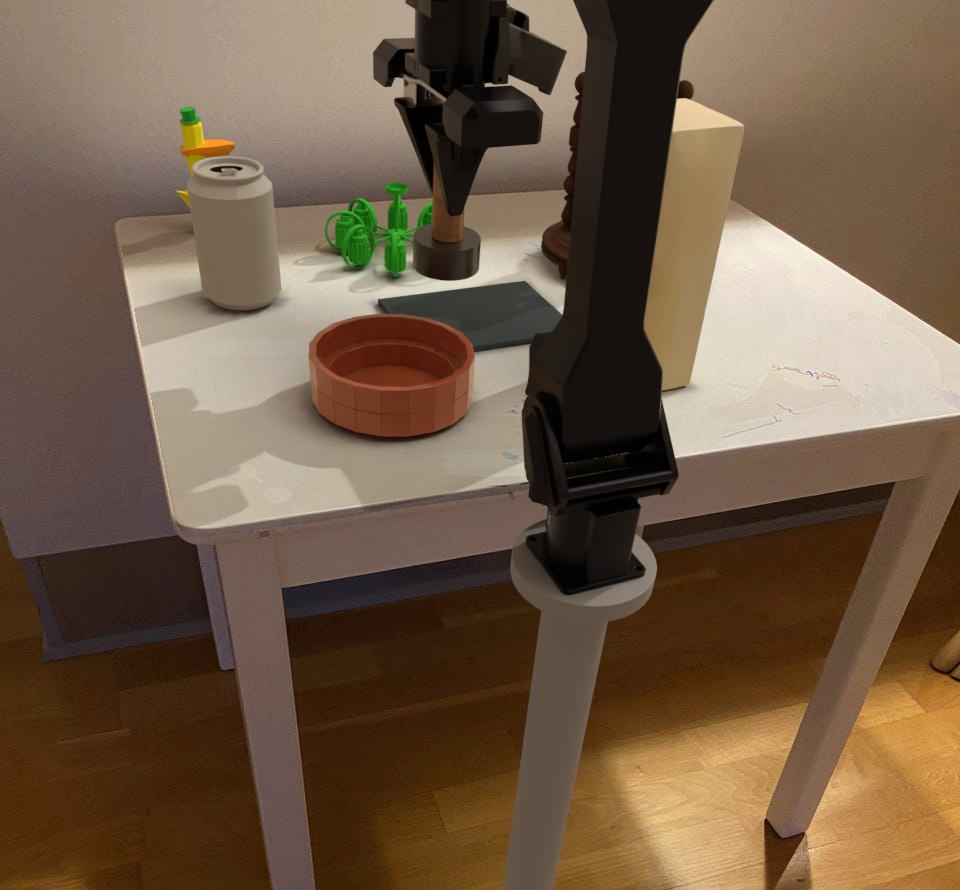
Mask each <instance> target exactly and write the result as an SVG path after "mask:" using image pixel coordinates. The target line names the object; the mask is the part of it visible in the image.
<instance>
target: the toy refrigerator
mask: <svg viewBox="0 0 960 890" xmlns="http://www.w3.org/2000/svg"><path fill="white" fill-rule="evenodd" d="M744 135H745V126H744V124H743V123H742V122H740V121H738V120H736V119H734V118H732V117H730V116H728V115H726V114H723V113H721V112H719V111H716V110H715V109H712V108H709V107H707V106H705V105H703V104H701V103H699V102H697V101H694V100H692V99H691V100H690V99H686V98H680V99H677V102H676V109H675V116H674V123H673V130H672V137H671V143H670V150H669V157H668V164H667V171H666V178H665V185H664V192H663V198H662V205H661V212H660V219H659V226H658V233H657V240H656V247H655V254H654V260H653V267H652V274H651V281H650V288H649V295H648V302H647V309H646V315H645V327H644V328H645V332H646V334H647V336H648V338H649V341H650V343H651V345H652V347H653V349H654V351H655V354H656V356H657V358H658V360H659V362H660V365H661V367H662V369H663V383H662V392H663V391H667V390H672V389H673V390H674V389H677V388H682V387H685V386H689V384H690V383H691V379H692V375H693V370H694V366H695V361H696V356H697V353H698V347H699V343H700V339H701V335H702V329H703V325H704V319H705V314H706V310H707V305H708V301H709V297H710V293H711V292H710V291H711V288H712V283H713V278H714V273H715V269H716V264H717V260H718V254H719V249H720V245H721V242H722V241H721V240H722V237H723V231H724V227H725V222H726V218H727V214H728V209H729V204H730V201H731V195H732V190H733V185H734V182H735V176H736V171H737V168H738V164H739V159H740V154H741V149H742V144H743V141H744Z"/></svg>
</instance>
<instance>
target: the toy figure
mask: <svg viewBox="0 0 960 890" xmlns="http://www.w3.org/2000/svg"><path fill="white" fill-rule="evenodd" d="M179 113H180V115H181V118H180V119H179V123H180V129H181V135H182V143H183V145H182V146H180V147H179V150H180V155H182V156H183V157H185V159H186V163H187V166H188V170H189V174H190V178H191V177H192V176H193V175H194V173H193V172H192V166H193V165H194V164H195V163H196V162H198V161H200V160H202V159H207V158H211V157H220V156H230V154H231V153H232V151H233V150H235V147H236V144H235V142H233V141H230V140H227V139H216V138H215V139H204V130H203V123H202V122H201V120H202V118H201V117H200V116H197V111H196V107H194V106H184V107H181V108H180V109H179ZM175 192H176V194H177V195H178V196H179V197H180V199H182V200H183V202H184V203H185V204H186V206H187V207H188V208H189V209H190V205H189V198H188V191H187V189H186V190H175Z"/></svg>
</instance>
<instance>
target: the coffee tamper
mask: <svg viewBox="0 0 960 890" xmlns="http://www.w3.org/2000/svg"><path fill="white" fill-rule="evenodd" d="M432 202H433V203H432V224H429V225H425V226H422V225H421V227H420V228H418V229H417V230H414V231H413V234H414V235H413V237H412V240H413V243H412V244H413V245H412V267H413V269H414V270H415V271H416V272H417V273H418V274H420V275H421V276H423V277H425V278H429V279H431V280H435V281H442V282H443V281H444V282H456V281H463V280H467V279H470V278H472V277H474V276H476V275H477V273H478V272H479V270H480V259H481V244H482V243H481V242H482V238H481V234H479V233H478V232H477V231H475V230H474V229H473V228H470V227H469V226H468V227H467V226H465V224H464V223H465V207H466V206H465V207H464V210H463V212H462V214H461V215H458V216H450V215H449V214H448V212H447V209H446V206H445V202H444V199H443V195H442V191H441V188H440V184H439V180H438V176H437V172H436V168H435V164H434V170H433V197H432Z"/></svg>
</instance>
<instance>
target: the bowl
mask: <svg viewBox="0 0 960 890" xmlns="http://www.w3.org/2000/svg"><path fill="white" fill-rule="evenodd" d="M475 362H476V354H475V351H474V349H473V345H472V343H471V342H470V341H469V340H468V339H467V338H466V337H465V336H464V334H462V333H461V332H459V331H457V330H456V329H454V328H452V327H450V326H448V325H447V324H444V323H441V322H438V321H435V320H431V319H428V318H424V317H418V316H411V315H405V314H386V313H373V314H363V315H358V316H352V317H349V318H345V319H342V320H339V321H336V322H333V323H331V324H330V325H328V326H326V327H324V328H323V329H320V330H319V331H318V332H317V333H316V334H315V335H314V337H313V338H312V339H311V340H310V342H309V343H308V369H309V382H310V394H311V395H310V396H311V402H312V403H313V405H314V406H315V408H316V410H317V411H318V413H319V415H321V416H322V417H324V418H325V419H327V420H328V421H329V422H331V423H333V424H334V425H336V426H339V427H341V428H344V429H347V430H349V431H352V432H355V433H359V434H364V435H365V434H366V435H370V436H377V437H413V436H419V435H423V434H425V435H426V434H430V433H435V432H438V431H440V430H442V429H445V428H447V427H449V426H452V425H454V424H455V423H457V422H458V421H459V420H461V418H463V417H464V416H465V415H467V413H468V412H469V410H470V407H471V405H472V403H473V398H474V397H473V396H474V384H475V383H474V382H475V381H474V380H475V379H474V378H475V364H476V363H475Z"/></svg>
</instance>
